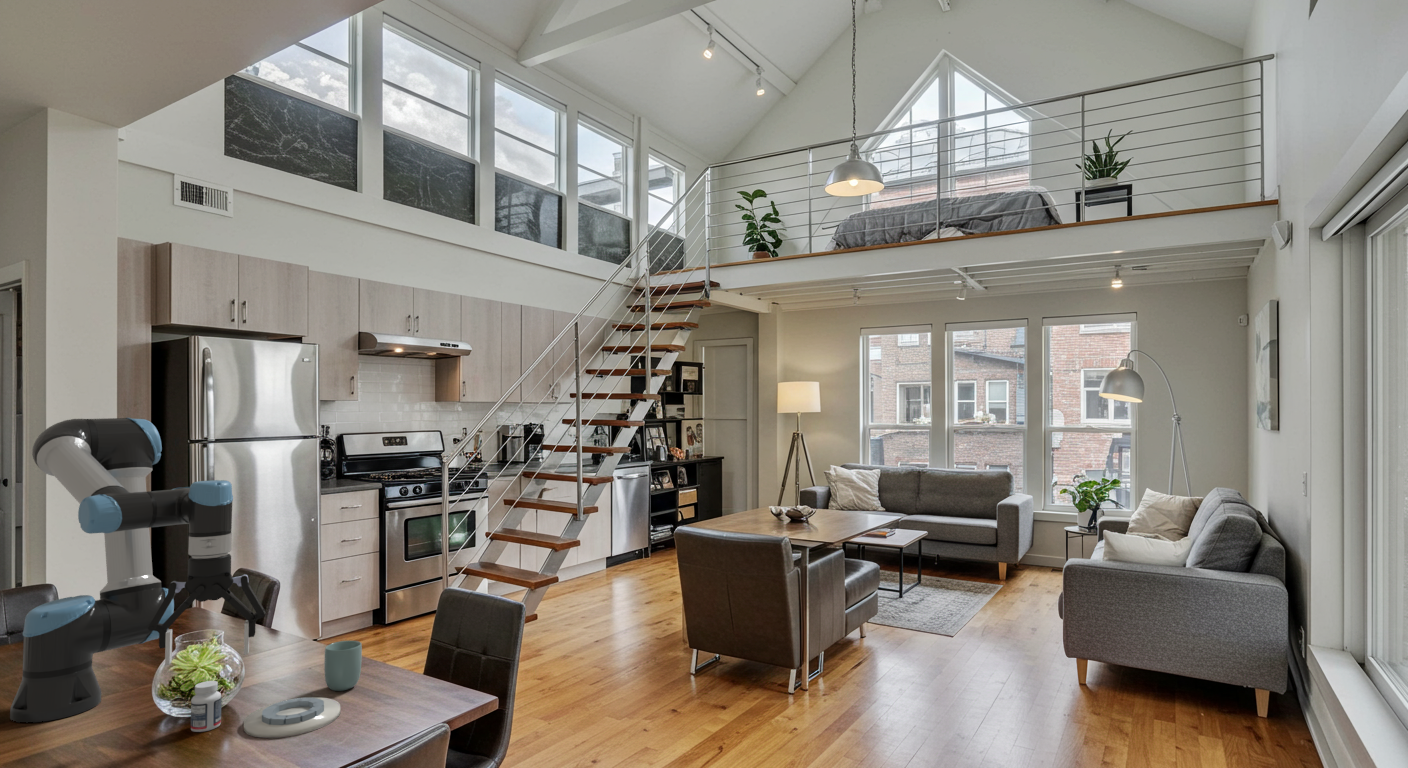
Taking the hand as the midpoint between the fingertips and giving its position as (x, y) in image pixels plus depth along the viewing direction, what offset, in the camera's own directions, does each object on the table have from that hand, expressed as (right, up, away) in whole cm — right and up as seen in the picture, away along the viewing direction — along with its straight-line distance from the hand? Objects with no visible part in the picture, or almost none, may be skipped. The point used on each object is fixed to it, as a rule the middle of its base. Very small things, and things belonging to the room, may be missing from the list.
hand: (208, 658), depth 155 cm
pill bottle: (0, -14, 0) cm, 14 cm away
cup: (+18, -15, +22) cm, 32 cm away
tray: (+16, -14, +4) cm, 22 cm away
